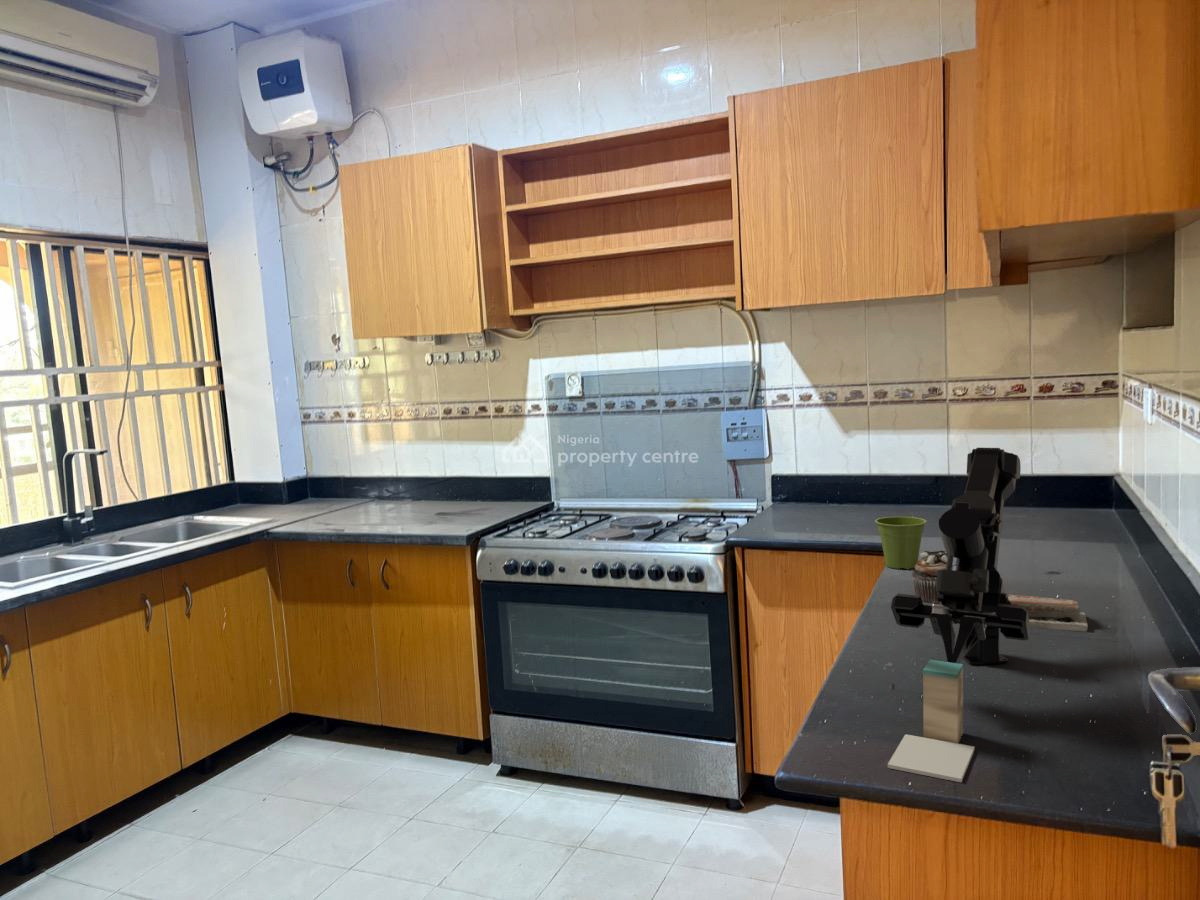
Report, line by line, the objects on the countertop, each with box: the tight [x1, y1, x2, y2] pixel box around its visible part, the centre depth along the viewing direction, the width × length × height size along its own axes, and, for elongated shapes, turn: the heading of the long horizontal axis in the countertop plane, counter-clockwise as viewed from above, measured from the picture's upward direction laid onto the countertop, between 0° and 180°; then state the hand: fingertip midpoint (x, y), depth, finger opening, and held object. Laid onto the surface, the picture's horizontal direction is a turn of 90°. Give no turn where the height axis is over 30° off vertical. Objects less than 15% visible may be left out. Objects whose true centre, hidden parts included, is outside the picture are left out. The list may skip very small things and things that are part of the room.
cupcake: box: [911, 550, 948, 605], centre depth 189 cm, size 10×10×10 cm
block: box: [922, 659, 964, 744], centre depth 124 cm, size 4×4×10 cm
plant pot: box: [874, 516, 927, 570], centre depth 217 cm, size 12×12×11 cm
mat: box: [887, 734, 976, 783], centre depth 118 cm, size 10×9×1 cm
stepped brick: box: [1007, 593, 1089, 633], centre depth 172 cm, size 18×5×10 cm
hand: (951, 668), depth 129 cm, fingers closed
